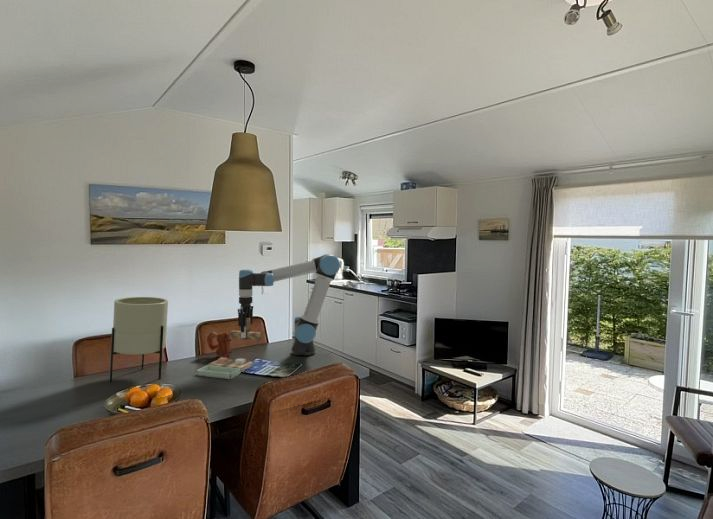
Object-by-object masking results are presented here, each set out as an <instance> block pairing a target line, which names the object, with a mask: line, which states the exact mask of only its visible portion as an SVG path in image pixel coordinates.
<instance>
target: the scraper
mask: <svg viewBox="0 0 713 519" xmlns="http://www.w3.org/2000/svg"><path fill="white" fill-rule="evenodd" d="M245 326H246V338H241V330H234V329H233V330H231V331H230V332H229V333H230V338H231V339H236V340H243V341H244V340H245V341H261V340H262V332H261V331H258V332H257V331H251V325H250V318H246V321H245Z"/></svg>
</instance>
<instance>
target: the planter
mask: <svg viewBox="0 0 713 519" xmlns="http://www.w3.org/2000/svg"><path fill="white" fill-rule="evenodd" d="M113 304H114V305H113V320H112V321H113V322H112V324H113V325H112V328H111V340H110V341H111V342H110V360H109V378H108V379H109V381H108V382H109V384H110V383H111V382H112V383H113V363H114V355H119V354H121V355H131V356H132V355H136V356H137V355H141V357H142V358H141V370H142V369H143V368H144V369H145V367H144V366H145V355H147V354H153V353H154V354H159V358H158V359H159V360H158V361H159V362H158V376H157V377H158V380H161V379H162V364H163V363H162V362H163V350H164V349H165V348H166V345H167V344H166V343H167V326H168V325H167V324H168V309H169V307H168V306H169V300H168V299H166V298H162V297H155V296H135V297H134V296H133V297H132V296H131V297H122V298H118V299H115V300H114V303H113ZM144 369H143V370H144ZM112 383H111V384H112Z"/></svg>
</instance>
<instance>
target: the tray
mask: <svg viewBox="0 0 713 519" xmlns="http://www.w3.org/2000/svg"><path fill="white" fill-rule="evenodd" d="M195 372H196V376H198V377H199V376H200V377H207V378H208V377H209V378H216V379H217V378H218V379H225V380H232V379H234V378H236V377H238V376H240V375H241V374H242V373H241V369H240V368H231V367H222V366H213V365H209V364H207V365H204V366H203V367H200V368H198V369H196V371H195ZM240 373H241V374H240ZM239 374H240V375H239Z"/></svg>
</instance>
